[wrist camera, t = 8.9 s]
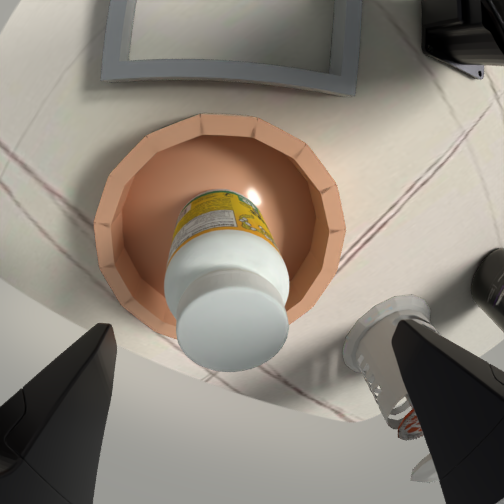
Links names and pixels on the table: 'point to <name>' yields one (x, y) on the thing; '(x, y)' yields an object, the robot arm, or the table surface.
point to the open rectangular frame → (333, 83)
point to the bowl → (208, 178)
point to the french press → (389, 366)
